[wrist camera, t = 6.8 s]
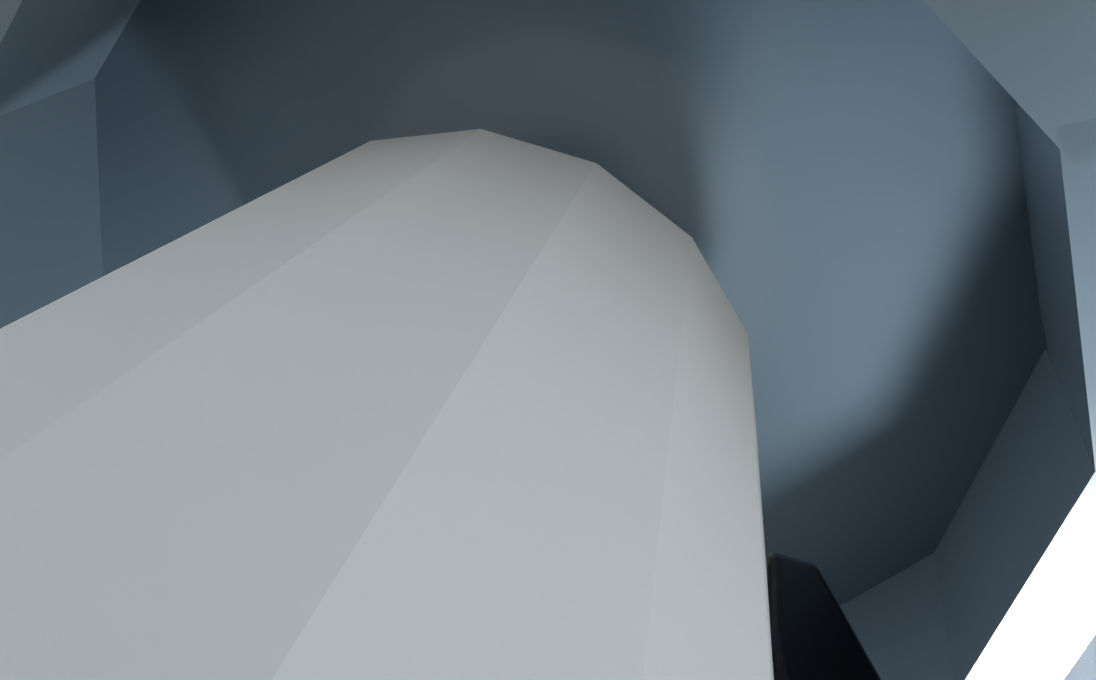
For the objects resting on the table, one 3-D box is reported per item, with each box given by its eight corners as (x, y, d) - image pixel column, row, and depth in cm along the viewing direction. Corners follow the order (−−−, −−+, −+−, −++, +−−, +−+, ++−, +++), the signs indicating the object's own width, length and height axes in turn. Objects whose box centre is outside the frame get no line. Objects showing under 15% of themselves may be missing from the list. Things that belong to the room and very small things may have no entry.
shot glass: (132, 469, 12) (-531, 1123, 6) (271, -80, 9) (-998, 212, 3) (631, 723, 12) (455, 1613, 6) (978, 284, 9) (1344, 1388, 3)
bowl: (855, 765, 15) (863, 965, 12) (100, 512, 16) (-34, 647, 14) (1375, -135, 9) (1612, -102, 6) (52, -437, 10) (-220, -518, 7)
